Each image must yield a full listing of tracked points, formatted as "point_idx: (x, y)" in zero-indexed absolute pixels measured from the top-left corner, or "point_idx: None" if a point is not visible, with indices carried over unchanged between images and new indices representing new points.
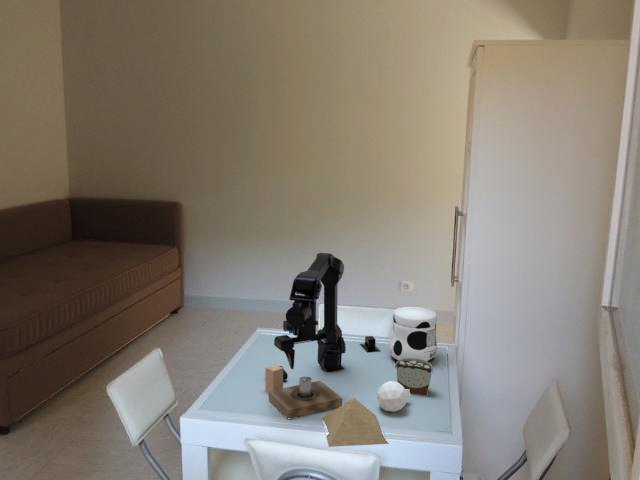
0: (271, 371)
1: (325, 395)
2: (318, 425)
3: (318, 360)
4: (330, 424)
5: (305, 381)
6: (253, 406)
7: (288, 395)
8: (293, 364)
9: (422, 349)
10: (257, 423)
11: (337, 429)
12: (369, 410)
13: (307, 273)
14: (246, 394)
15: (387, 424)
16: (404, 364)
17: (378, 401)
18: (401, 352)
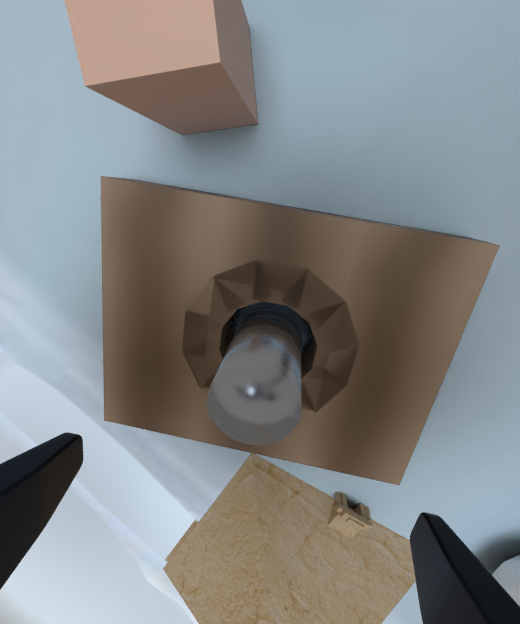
0: (84, 51)
1: (350, 420)
2: (207, 482)
3: (430, 566)
4: (215, 547)
5: (227, 435)
6: (37, 196)
7: (178, 303)
8: (22, 545)
9: None
10: (10, 344)
11: (192, 608)
12: (396, 603)
13: None
14: (43, 14)
15: (410, 604)
16: None
17: (507, 582)
18: None
